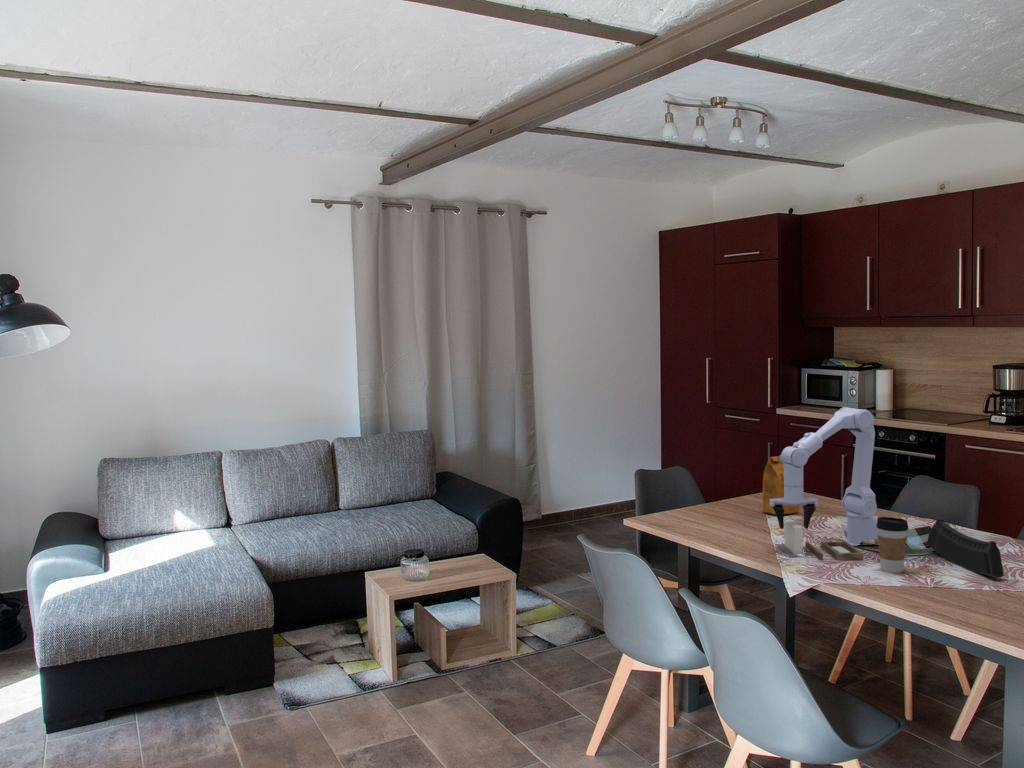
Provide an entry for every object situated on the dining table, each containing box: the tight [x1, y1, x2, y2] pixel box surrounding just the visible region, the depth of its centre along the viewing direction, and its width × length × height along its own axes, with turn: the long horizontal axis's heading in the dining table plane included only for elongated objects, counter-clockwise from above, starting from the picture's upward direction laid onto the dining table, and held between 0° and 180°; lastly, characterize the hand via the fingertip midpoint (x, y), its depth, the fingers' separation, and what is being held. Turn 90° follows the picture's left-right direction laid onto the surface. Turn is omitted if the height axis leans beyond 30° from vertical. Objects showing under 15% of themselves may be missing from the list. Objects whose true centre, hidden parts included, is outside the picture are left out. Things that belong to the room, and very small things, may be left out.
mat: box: [775, 543, 813, 558], centre depth 258 cm, size 7×14×1 cm, turn 179°
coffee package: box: [762, 455, 800, 516], centre depth 308 cm, size 10×12×22 cm
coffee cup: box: [876, 516, 909, 574], centre depth 236 cm, size 8×8×15 cm
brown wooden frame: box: [804, 540, 864, 562], centre depth 254 cm, size 13×14×2 cm
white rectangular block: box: [784, 519, 804, 555], centre depth 258 cm, size 2×10×8 cm, turn 179°
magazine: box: [927, 518, 1005, 578], centre depth 238 cm, size 17×3×30 cm
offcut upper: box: [832, 546, 851, 553], centre depth 254 cm, size 3×7×1 cm, turn 4°
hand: (793, 527), depth 258 cm, fingers open, 7 cm apart
